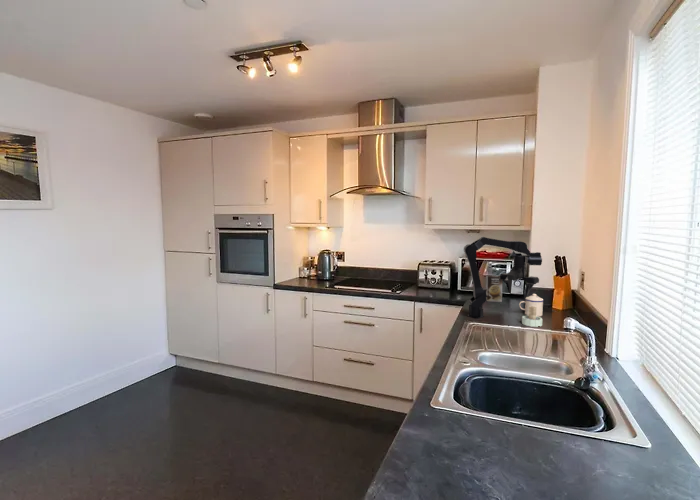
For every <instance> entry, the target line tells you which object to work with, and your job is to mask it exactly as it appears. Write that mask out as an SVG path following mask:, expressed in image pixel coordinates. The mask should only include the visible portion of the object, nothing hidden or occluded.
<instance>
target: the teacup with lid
mask: <svg viewBox="0 0 700 500" xmlns="http://www.w3.org/2000/svg"><path fill="white" fill-rule="evenodd" d="M524 299H525V300H521V301H519V304H518V306H519V308H520V309H521V310H522V311H524V315H525V316H527V315H529V307H530V306H533V307H536V316H537V317H540V318H541V317H542V316H543V312H544V311H543V307H544V299H543V298H542V297H540V296H538V295H537V294H536V293H532V295H528V296H525V298H524ZM522 303H525V305H524V306H525V308H523V307H522V306H521V304H522Z"/></svg>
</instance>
